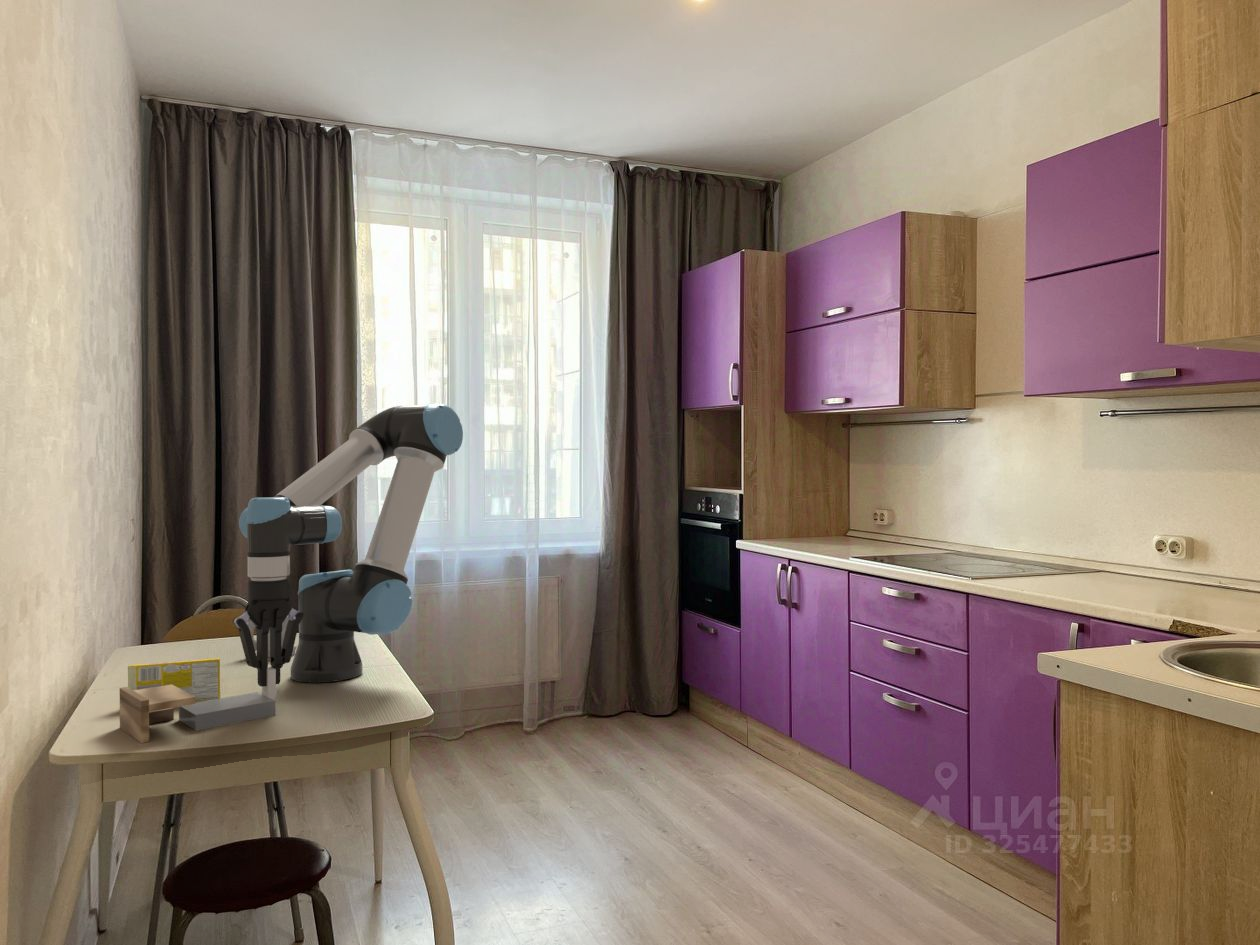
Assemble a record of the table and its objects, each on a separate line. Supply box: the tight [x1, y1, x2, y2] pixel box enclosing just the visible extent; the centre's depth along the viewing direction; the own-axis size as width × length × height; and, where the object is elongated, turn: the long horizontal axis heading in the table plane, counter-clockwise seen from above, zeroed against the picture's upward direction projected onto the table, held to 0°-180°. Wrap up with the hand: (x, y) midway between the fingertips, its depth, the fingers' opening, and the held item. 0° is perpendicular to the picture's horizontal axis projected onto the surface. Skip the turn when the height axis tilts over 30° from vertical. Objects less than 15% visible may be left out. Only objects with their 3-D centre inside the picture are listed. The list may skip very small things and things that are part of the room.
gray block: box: [178, 692, 276, 731], centre depth 166 cm, size 14×9×3 cm, turn 134°
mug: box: [248, 614, 298, 659], centre depth 223 cm, size 8×12×12 cm, turn 120°
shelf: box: [119, 685, 196, 744], centre depth 158 cm, size 9×13×7 cm, turn 43°
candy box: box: [127, 657, 221, 702], centre depth 177 cm, size 16×2×8 cm, turn 110°
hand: (269, 702), depth 172 cm, fingers closed
